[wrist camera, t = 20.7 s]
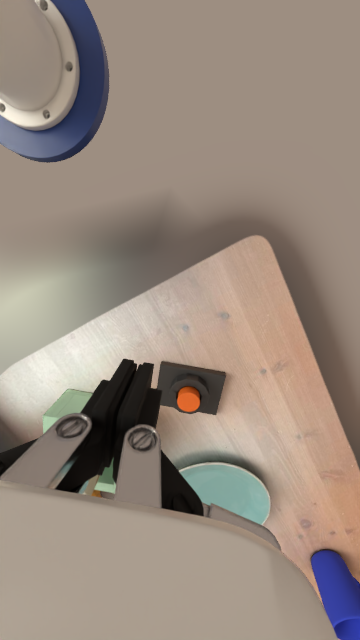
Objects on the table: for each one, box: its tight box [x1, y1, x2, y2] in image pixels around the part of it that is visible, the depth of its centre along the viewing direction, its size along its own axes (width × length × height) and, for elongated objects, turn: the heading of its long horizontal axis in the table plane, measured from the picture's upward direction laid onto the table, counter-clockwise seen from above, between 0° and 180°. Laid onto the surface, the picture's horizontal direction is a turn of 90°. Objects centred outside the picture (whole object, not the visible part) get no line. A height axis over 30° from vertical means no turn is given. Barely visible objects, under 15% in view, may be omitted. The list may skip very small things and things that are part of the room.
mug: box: [311, 550, 360, 640], centre depth 45 cm, size 8×12×10 cm
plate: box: [178, 462, 271, 525], centre depth 44 cm, size 22×22×3 cm
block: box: [157, 361, 226, 415], centre depth 37 cm, size 11×8×3 cm
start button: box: [177, 386, 200, 412], centre depth 35 cm, size 4×4×2 cm
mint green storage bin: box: [43, 389, 116, 493], centre depth 39 cm, size 14×14×7 cm
